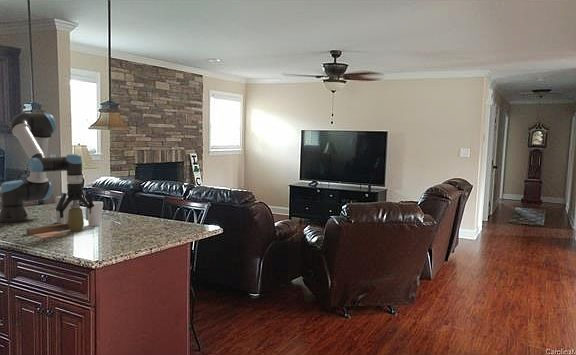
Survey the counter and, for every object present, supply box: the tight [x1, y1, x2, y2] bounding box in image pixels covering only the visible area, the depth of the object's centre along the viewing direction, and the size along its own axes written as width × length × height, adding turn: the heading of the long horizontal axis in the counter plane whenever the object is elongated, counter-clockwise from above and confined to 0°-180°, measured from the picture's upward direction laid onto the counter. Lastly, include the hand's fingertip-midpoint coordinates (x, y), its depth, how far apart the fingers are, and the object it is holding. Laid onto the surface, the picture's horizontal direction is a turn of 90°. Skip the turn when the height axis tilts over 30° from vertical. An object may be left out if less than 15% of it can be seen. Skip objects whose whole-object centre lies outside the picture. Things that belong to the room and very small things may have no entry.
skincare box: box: [54, 195, 73, 224], centre depth 276 cm, size 8×7×16 cm
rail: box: [26, 223, 70, 240], centre depth 252 cm, size 16×28×3 cm, turn 142°
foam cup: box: [85, 201, 104, 227], centre depth 272 cm, size 10×9×13 cm
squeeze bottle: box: [68, 200, 85, 233], centre depth 255 cm, size 8×8×18 cm
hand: (75, 221), depth 256 cm, fingers open, 13 cm apart
